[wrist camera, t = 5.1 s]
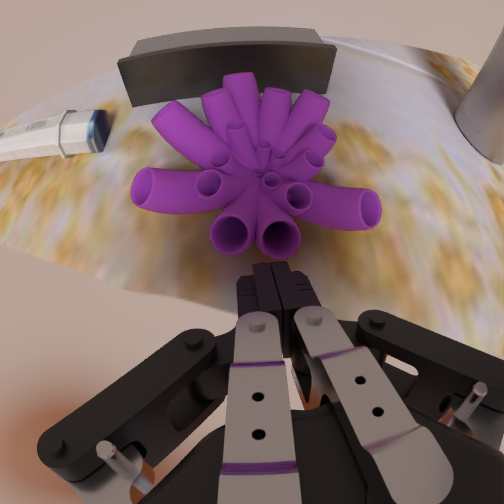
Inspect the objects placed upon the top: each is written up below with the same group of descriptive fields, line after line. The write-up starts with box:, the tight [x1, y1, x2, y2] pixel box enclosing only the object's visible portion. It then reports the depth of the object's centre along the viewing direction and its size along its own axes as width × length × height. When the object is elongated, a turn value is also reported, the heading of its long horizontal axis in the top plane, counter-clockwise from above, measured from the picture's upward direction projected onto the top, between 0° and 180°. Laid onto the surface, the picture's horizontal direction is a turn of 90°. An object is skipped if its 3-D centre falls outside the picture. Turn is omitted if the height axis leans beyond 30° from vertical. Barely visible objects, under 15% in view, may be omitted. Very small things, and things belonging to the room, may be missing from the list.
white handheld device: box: [0, 110, 110, 162], centre depth 19 cm, size 5×7×25 cm
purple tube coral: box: [131, 72, 381, 260], centre depth 16 cm, size 11×15×10 cm
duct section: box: [117, 27, 337, 107], centre depth 22 cm, size 19×6×6 cm, turn 95°
